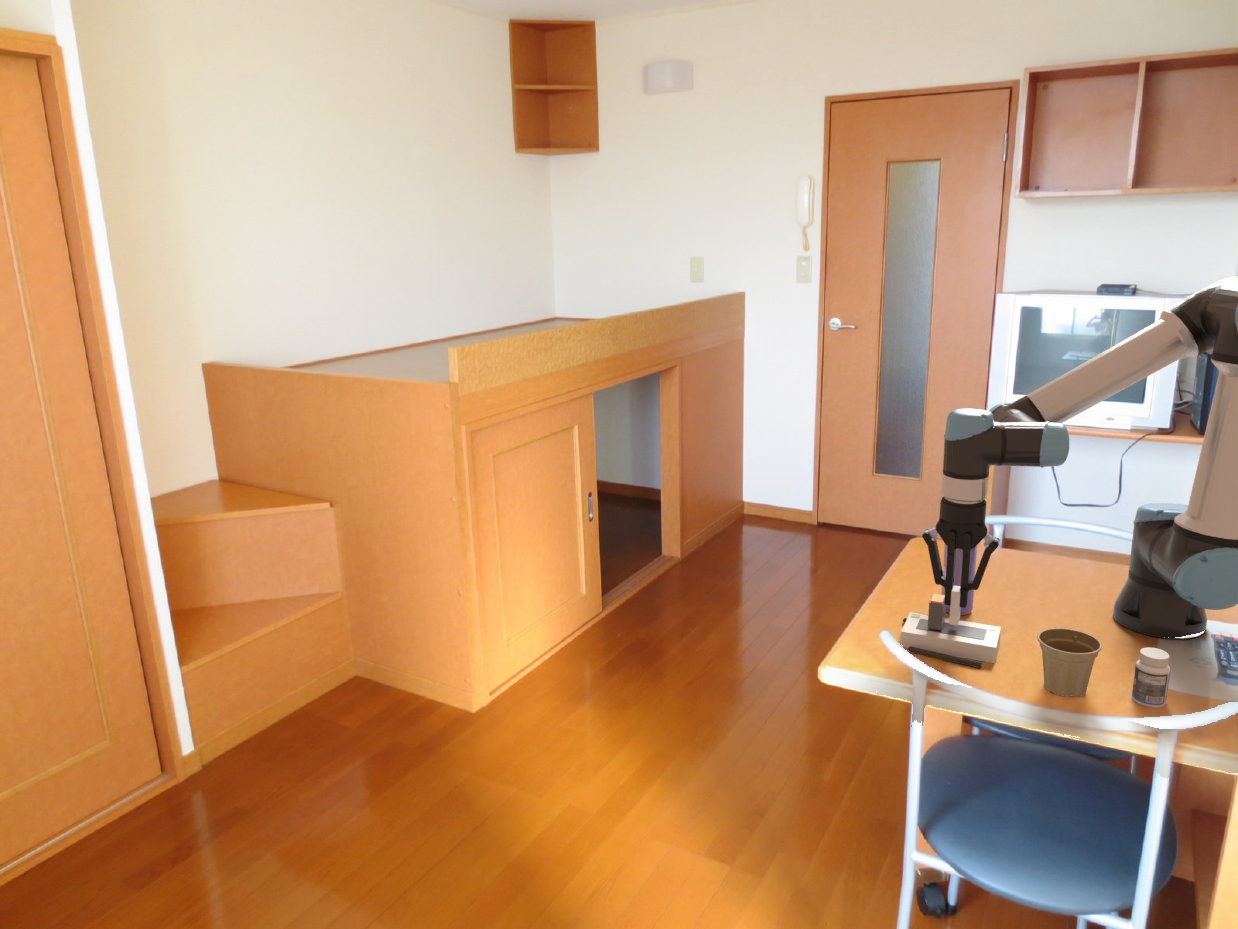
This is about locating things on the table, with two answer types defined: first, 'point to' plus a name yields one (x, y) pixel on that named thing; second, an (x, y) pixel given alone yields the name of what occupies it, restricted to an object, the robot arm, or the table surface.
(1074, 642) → the flower pot
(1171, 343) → the robot arm
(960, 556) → the beverage can
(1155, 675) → the pill bottle
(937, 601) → the lever
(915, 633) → the white slider switch base
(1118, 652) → the table surface
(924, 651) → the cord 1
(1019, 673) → the table surface
